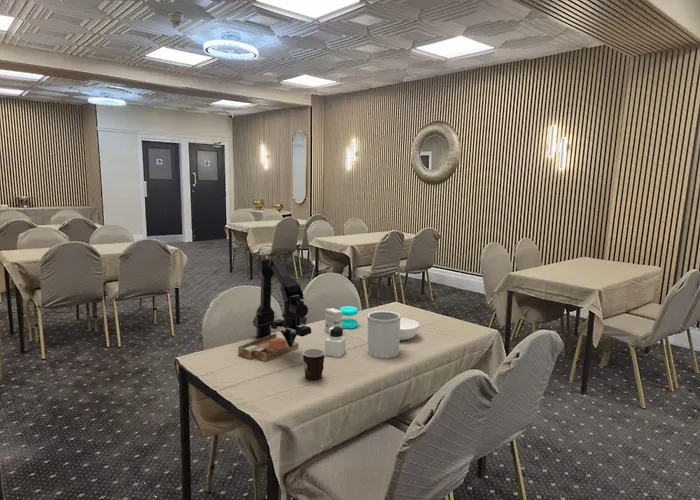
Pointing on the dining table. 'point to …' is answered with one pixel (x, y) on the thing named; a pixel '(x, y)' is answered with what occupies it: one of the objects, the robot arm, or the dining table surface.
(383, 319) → the utensil holder
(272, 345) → the block
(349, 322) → the donuts
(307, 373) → the coffee mug
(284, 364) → the dining table surface
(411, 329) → the bowl
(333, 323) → the ink box
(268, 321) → the robot arm
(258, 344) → the brown compartment tray
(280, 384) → the dining table surface
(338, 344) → the medicine bottle
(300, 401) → the dining table surface
